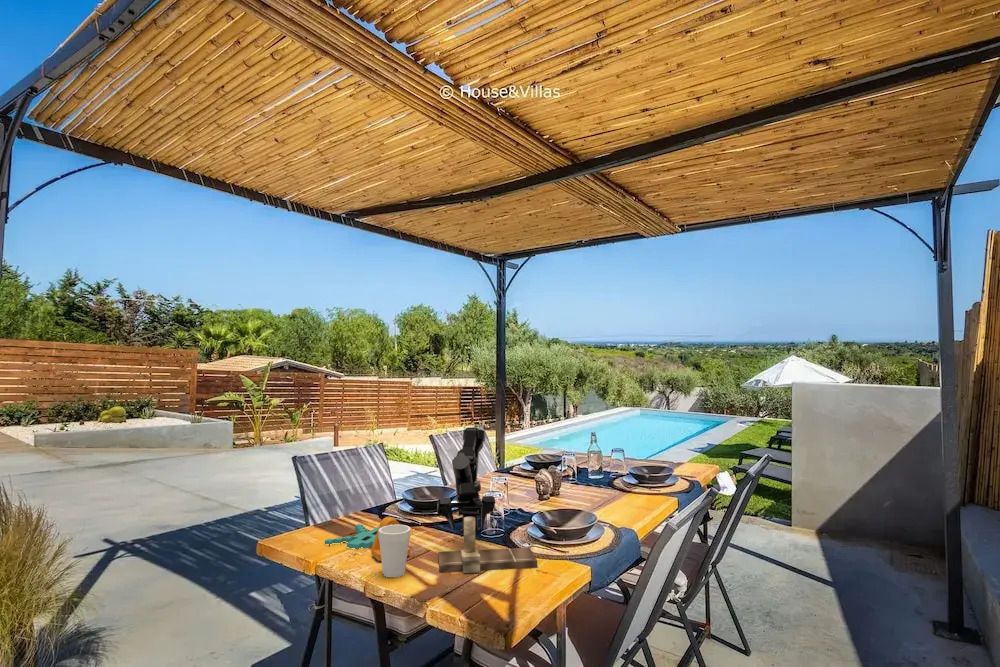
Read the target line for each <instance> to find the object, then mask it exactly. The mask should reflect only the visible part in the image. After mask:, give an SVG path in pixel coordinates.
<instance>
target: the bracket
mask: <svg viewBox="0 0 1000 667" xmlns="http://www.w3.org/2000/svg"><path fill="white" fill-rule="evenodd" d="M388 525H401V523H400V522H399V521H398V520H396V519H395V518H394V517H392V516H385V517H384V518H383V519H382V520H381V521H380V522H379V526H378V527H379V528H378V531H377V534H376V537H375V540H374V542H373V545H372V547H370V548H371V549H370V550H371V553H370V555H371V556H373V557H374V559H376V560H377V561H378V562H382V561H381V552H380V542H379V539H378V533H379V529H380V528H382V527H384V526H388ZM408 556H411V548H410V547H409V546H408V553H407V557H408Z"/></svg>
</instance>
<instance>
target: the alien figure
mask: <svg viewBox="0 0 1000 667" xmlns="http://www.w3.org/2000/svg"><path fill="white" fill-rule="evenodd" d="M378 528H379V526H377V527H375V528H373V529H371V530H369V531H368V529H367V528H366V526H364V524H359V523H358V524H356V525H354V531H355V530H356V531H355V532H358V533H356V534H355V535H354V536H349V535H347V536H344V537H339V536H338V537H336V538H327V539H325V540H324V545H325V544H329V545H330V544H332V543H341V542H343V541H346V542H348V543H346V548H347V547H349V548H355V549H359V548H361V547H363V548H361V549H365V548H368V547H370V546H372V545H373V542H374V540H375V537H376V534H377V531H378ZM370 548H371V547H370ZM368 549H369V548H368ZM359 550H360V549H359Z"/></svg>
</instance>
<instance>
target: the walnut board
mask: <svg viewBox="0 0 1000 667" xmlns="http://www.w3.org/2000/svg"><path fill="white" fill-rule="evenodd" d="M477 551H478V554H480V571H494V570H495V571H497V570H514V569H516V570H517V569H531V568H532V569H536V568H538V559H537V558H536V556H535V555H534V553H533V552H532V550H531V548H530V547H517V548H510V547H509V548H497V549H496V548H495V549H477ZM437 557H438V559H437V560H438V571H439V573H451V572H452V573H454V572H455V573H456V572H457V571H459V572H463V562H462V557H461V550H448V551H447V550H446V551H438V554H437Z"/></svg>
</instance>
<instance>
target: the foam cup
mask: <svg viewBox="0 0 1000 667" xmlns="http://www.w3.org/2000/svg"><path fill="white" fill-rule="evenodd" d="M411 530H412V527H410V526H408V525H405V524H400V525H392V524H391V525H388V526H384V527H382V528H380V529H379V533H378V539H379V542H380V552H381V561H380V562H381V568H382V575H383V574H384V575H383V576H384V577H385V576H386V577H385V578H387V577H397V578H400V576H401V577H403V576H404V575H405V573H406V566H407V560H408V559H407V558H408V556H407V553H408V547H409V545H410V540H411V539H410V538H411V536H412V535H411V533H412V532H411ZM402 575H403V576H402Z"/></svg>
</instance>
